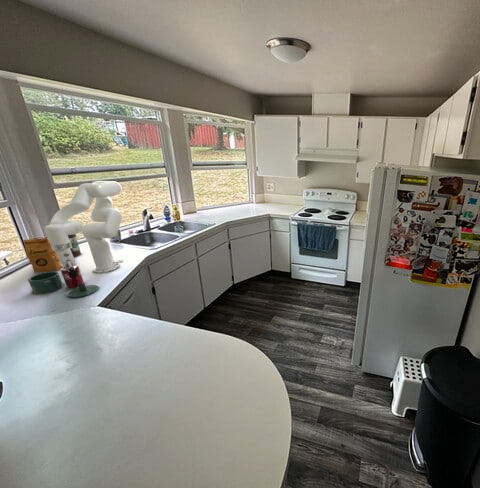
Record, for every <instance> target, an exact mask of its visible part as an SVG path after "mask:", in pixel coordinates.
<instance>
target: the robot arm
mask: <svg viewBox="0 0 480 488" xmlns="http://www.w3.org/2000/svg"><path fill="white" fill-rule="evenodd" d="M122 190H123V186H122V185H121V184H120V182H117V181H114V180H112V181H111V180H96V181H92V182H91V183H86V182H85V183H81V184H79V186H78V187H77V189H76V191H75V192H74V195H73V197H72V198H71V200H70V202H69V203H68V204H66V205H64V206H63V207H62V208H60V209H59V210H58V211H56V212H55V213H54V215H53V216H52V218H51V219H50V222H49V224H48V225H45V226H44V231H45V234H46V238H47V239H48V240H49V242H50V245H51V248H52V250H53V251H56V253H57V255H58V257H59V260H60V262H61V265H62V267H66V268H67V270H68V274H69V277H70V278H74V277H77V276H78V275H77V273H76V270H75V268H74V266H73V265H77V262H76V260H75V257H73V254H72V252H71V250H70V249H71V248H72V246H71V243H70V241H69V238H68V235H72V234H76V235H77V234H81V232H82V235H83V237H84V238H85V240H86V243H87V244H88V247H89V250H90V253H91V256H92V259H93V263H94V265H95V268H94V269H93V272H94V273H97V274H101V273H108V272H112V271H114V270H117V269H118V268H119V264H122V263H124V260H123V259H116V260H115V259H114V257H113V253H112V251H111V247H110V243H109V241H108V239H113V238H115V237H116V236H117V234H118V232H119V229H120V225H121V223H122V220H123V216H122V215H123V214H122V212H121V211H120V210H119V209H118V208H113V205H114V202H113V200H112V199H111V197H115V196H117V195H120V194H121V193H122ZM94 200H95V203H94V206H93V209H92V211H91V213H90V220H92V221H93V222H90V223H86V224H83V223H82V222H80V221H77V220H70V219H71V218H72V217H74V216H76V215H79V214H83V213H85V212H87V211H89V210H90V209H91V206H92V204H93V202H94Z"/></svg>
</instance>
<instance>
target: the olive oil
mask: <svg viewBox="0 0 480 488" xmlns="http://www.w3.org/2000/svg"><path fill="white" fill-rule="evenodd" d="M68 238H69V241H70V243H71V246H72V248H71V249H70V250H71V252H72V254H73V257H74V258H76V257H80V256H81V255H82V252H81V247H80V245H79V241H78V238H77V234H72V235H68Z"/></svg>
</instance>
